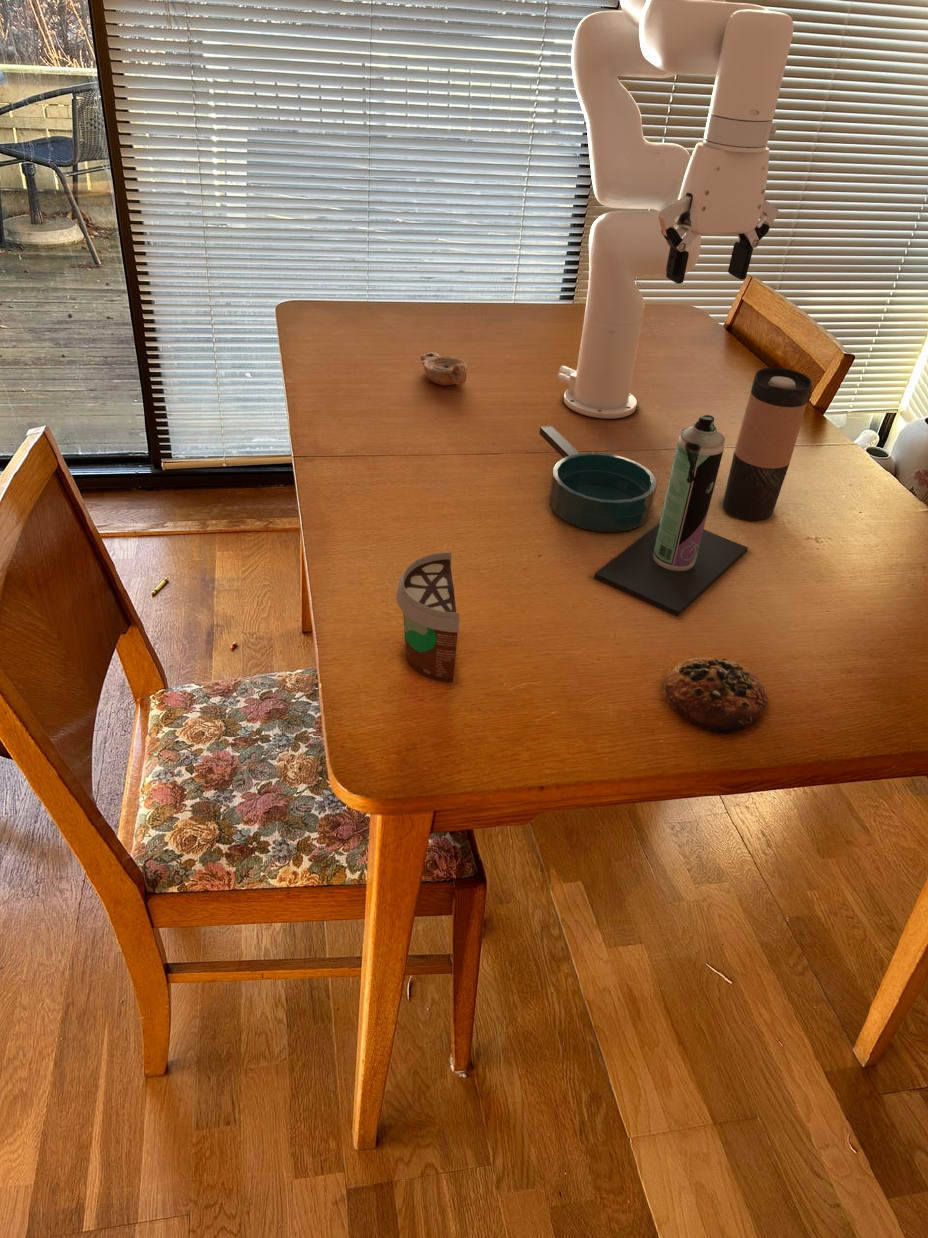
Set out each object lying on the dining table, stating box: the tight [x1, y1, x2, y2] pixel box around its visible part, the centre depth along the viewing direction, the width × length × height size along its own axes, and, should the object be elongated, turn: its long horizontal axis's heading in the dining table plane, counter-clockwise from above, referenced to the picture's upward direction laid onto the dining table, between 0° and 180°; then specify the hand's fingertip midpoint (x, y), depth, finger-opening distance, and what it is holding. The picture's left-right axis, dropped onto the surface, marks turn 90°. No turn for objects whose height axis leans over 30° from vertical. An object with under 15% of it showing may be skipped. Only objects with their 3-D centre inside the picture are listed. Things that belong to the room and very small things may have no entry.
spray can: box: [653, 414, 726, 571], centre depth 116 cm, size 6×6×20 cm
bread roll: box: [662, 657, 769, 735], centre depth 100 cm, size 11×11×5 cm
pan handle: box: [538, 425, 581, 459], centre depth 140 cm, size 12×2×1 cm, turn 22°
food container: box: [395, 552, 460, 683], centre depth 101 cm, size 12×6×10 cm, turn 5°
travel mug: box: [722, 367, 813, 523], centre depth 129 cm, size 8×8×20 cm
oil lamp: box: [419, 352, 468, 386], centre depth 164 cm, size 13×8×5 cm, turn 27°
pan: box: [548, 452, 658, 533], centre depth 131 cm, size 14×14×5 cm
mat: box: [593, 522, 749, 618], centre depth 122 cm, size 12×20×1 cm, turn 142°
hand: (705, 278), depth 122 cm, fingers open, 9 cm apart
